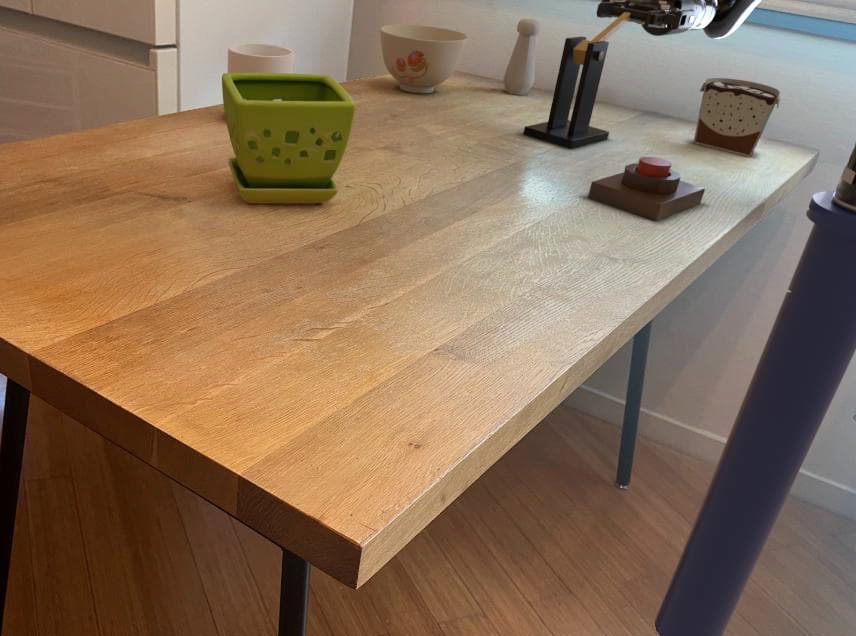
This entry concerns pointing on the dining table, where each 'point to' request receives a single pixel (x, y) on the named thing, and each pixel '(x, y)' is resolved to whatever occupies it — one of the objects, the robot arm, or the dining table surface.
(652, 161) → the button
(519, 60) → the salt shaker
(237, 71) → the mug
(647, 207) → the block
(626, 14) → the lever
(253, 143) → the flower pot
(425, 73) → the bowl
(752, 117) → the food container
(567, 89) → the lock bracket
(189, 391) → the dining table surface
